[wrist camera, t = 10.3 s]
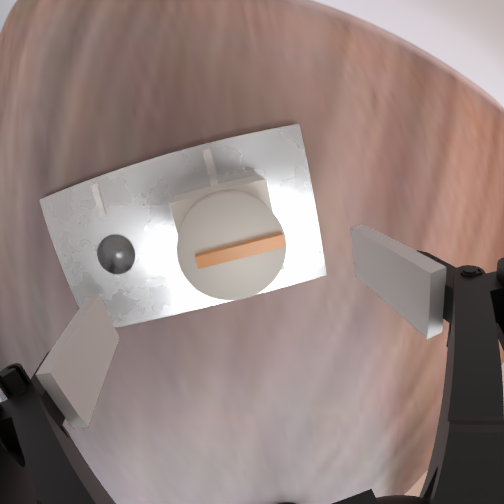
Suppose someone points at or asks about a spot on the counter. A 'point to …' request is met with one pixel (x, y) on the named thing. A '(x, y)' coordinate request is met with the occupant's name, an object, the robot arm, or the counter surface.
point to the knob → (229, 238)
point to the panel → (163, 227)
